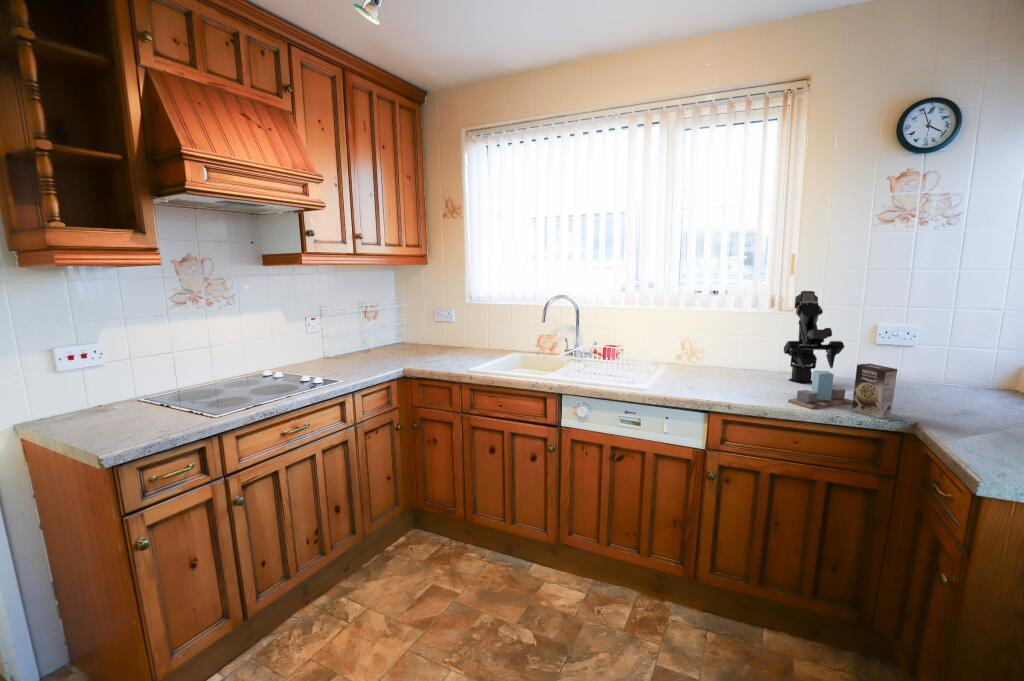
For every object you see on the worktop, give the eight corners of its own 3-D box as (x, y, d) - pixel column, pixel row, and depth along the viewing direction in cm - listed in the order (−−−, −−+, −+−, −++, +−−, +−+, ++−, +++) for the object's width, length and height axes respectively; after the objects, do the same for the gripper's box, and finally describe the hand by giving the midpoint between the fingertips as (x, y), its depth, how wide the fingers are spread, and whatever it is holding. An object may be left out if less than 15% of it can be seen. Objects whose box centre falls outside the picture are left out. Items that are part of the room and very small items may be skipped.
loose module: (816, 399, 170) (819, 373, 168) (810, 396, 175) (813, 370, 173) (830, 400, 169) (833, 374, 168) (824, 396, 174) (827, 370, 172)
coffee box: (850, 410, 163) (855, 364, 160) (863, 408, 165) (868, 362, 162) (879, 419, 154) (885, 370, 151) (892, 416, 156) (898, 368, 154)
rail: (806, 403, 167) (806, 402, 167) (797, 401, 171) (797, 399, 171) (843, 398, 173) (843, 397, 173) (834, 396, 177) (834, 394, 176)
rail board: (810, 409, 165) (811, 406, 165) (788, 402, 173) (788, 399, 173) (852, 403, 171) (853, 400, 171) (828, 396, 180) (829, 393, 179)
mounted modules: (808, 402, 167) (808, 394, 167) (796, 399, 171) (797, 390, 171) (844, 397, 173) (845, 389, 172) (832, 394, 177) (833, 386, 176)
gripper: (789, 320, 179) (797, 357, 171) (845, 319, 175) (856, 357, 167) (780, 335, 188) (787, 371, 180) (833, 335, 184) (842, 371, 177)
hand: (817, 367), depth 176 cm, fingers open, 9 cm apart
